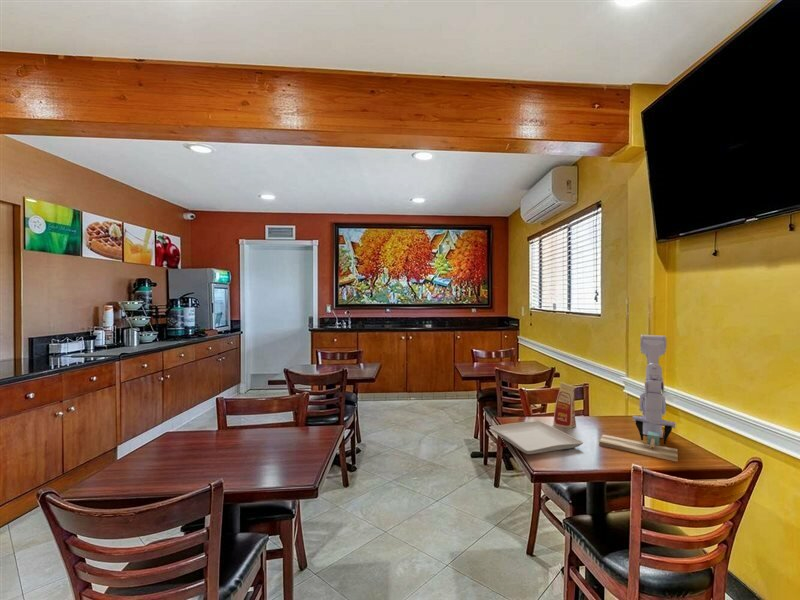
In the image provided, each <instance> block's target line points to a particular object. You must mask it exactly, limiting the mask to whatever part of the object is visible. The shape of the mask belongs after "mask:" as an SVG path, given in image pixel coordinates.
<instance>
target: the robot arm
mask: <svg viewBox="0 0 800 600" xmlns="http://www.w3.org/2000/svg"><path fill="white" fill-rule="evenodd" d="M667 343H668V341H667V336H666V335H655V334H654V335H653V334H641V335H640V343H639V344H640V352H641V354H644V355H645V358H646V360H647V361H646V364H647V365H646V367H645V380H644V392H641V393H640V395H639V403H638V404H639V410H638V411H640V412H641V413H642V416H639V415H632V422H635V426H636V428H637V430H638V432H639V436H640V441H644V435H645V436H647V433H648V431H651V432H656V433H659V439H660V438H663V445H667V444H666V443H667V441H668V437H669V436H670V434H671V433H672V430H673V429H676V422H675V421H670V420H666V419H663V416H665V415H666V414H667V412H666V411H667V402H666V397H665V396H664V393H665V383H664V378H663V367H662V366H661V365H659V362H660V361H659V360H660V357H661V356H663V355H665V353H666V351H667V345H668V344H667ZM663 427H664V428H663ZM662 429H663V430H662Z"/></svg>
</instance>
